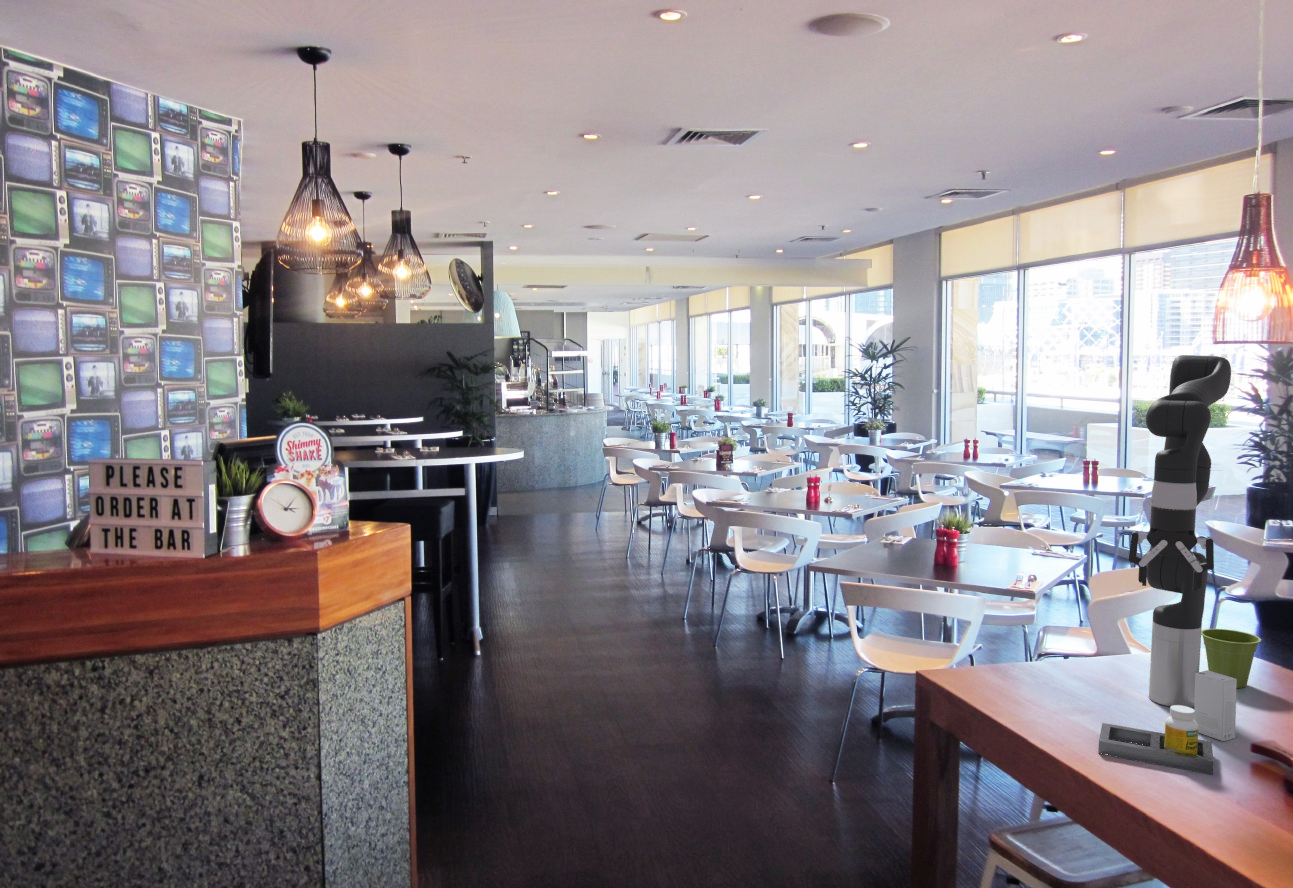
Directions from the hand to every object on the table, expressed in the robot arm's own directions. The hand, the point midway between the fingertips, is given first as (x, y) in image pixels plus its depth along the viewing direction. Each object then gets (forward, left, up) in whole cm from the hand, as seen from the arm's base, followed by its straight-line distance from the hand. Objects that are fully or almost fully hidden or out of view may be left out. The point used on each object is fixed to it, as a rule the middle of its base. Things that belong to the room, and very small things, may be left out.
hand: (1169, 587), depth 180 cm
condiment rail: (+9, -1, -30) cm, 31 cm away
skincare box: (-7, +9, -30) cm, 32 cm away
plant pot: (-43, +13, -30) cm, 54 cm away
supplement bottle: (+9, +3, -30) cm, 32 cm away
